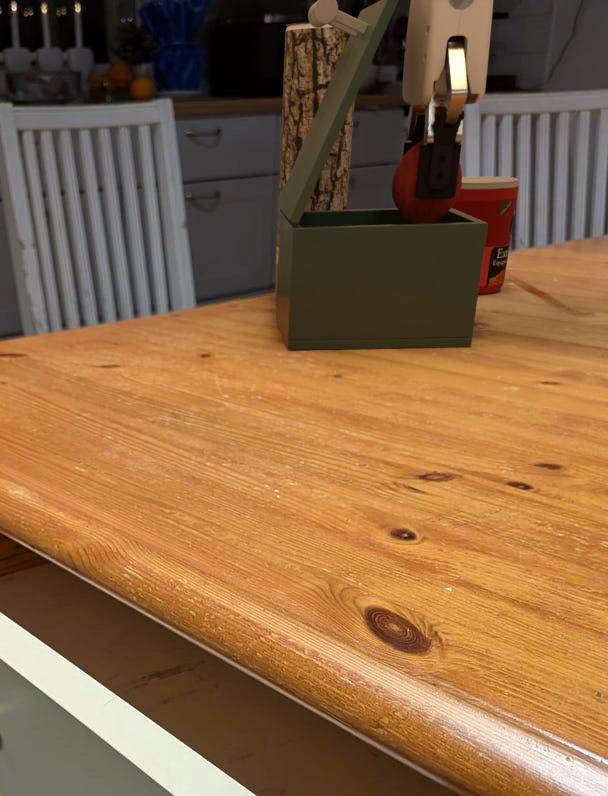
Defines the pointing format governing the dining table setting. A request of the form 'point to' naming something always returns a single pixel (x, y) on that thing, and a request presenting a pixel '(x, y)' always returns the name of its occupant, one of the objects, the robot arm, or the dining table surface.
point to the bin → (378, 280)
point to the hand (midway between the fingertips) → (426, 193)
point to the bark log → (313, 112)
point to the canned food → (491, 222)
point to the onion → (405, 191)
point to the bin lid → (334, 95)
